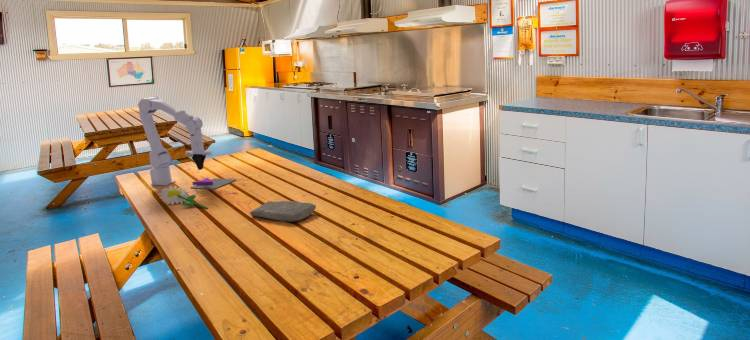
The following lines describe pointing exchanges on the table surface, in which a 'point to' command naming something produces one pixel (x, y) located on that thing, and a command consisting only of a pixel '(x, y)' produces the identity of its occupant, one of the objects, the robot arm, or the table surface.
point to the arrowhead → (203, 182)
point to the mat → (214, 184)
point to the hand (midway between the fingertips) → (200, 169)
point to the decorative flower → (178, 196)
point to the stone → (284, 210)
